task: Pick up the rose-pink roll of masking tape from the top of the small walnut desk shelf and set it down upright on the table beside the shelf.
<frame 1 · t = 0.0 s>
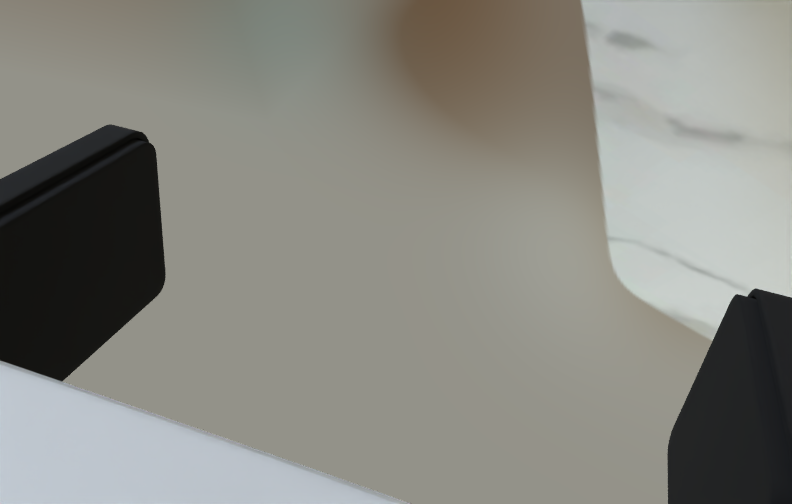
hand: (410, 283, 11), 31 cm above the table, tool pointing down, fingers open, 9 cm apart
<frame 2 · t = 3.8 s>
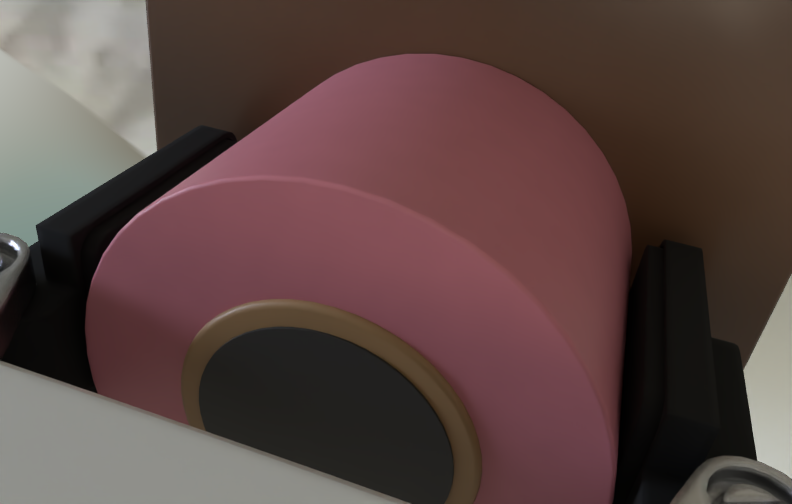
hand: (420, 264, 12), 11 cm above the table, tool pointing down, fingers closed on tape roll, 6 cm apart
tape roll: (432, 243, 12), point 10 cm above the table, touching desk shelf, gripper
desk shelf: (524, 82, 20), on the table
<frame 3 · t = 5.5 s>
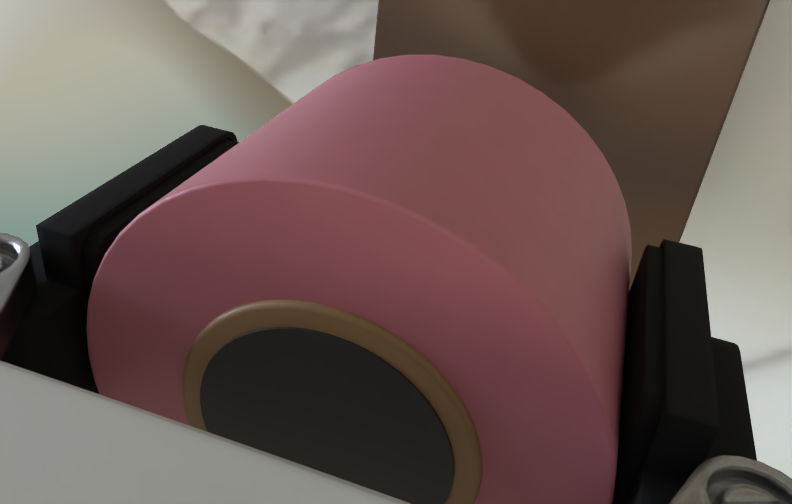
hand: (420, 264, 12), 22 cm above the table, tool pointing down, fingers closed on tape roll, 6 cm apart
tape roll: (432, 244, 12), point 21 cm above the table, touching gripper
desk shelf: (570, 38, 30), on the table
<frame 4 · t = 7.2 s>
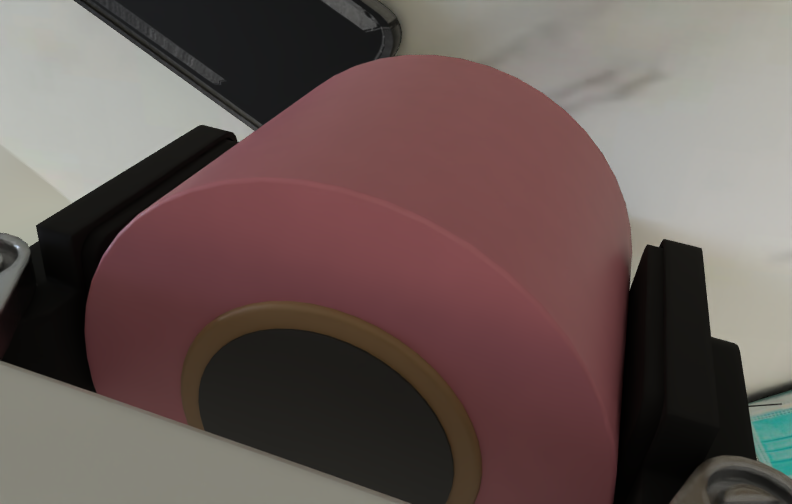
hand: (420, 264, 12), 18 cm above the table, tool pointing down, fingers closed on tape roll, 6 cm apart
tape roll: (432, 244, 12), point 18 cm above the table, touching gripper
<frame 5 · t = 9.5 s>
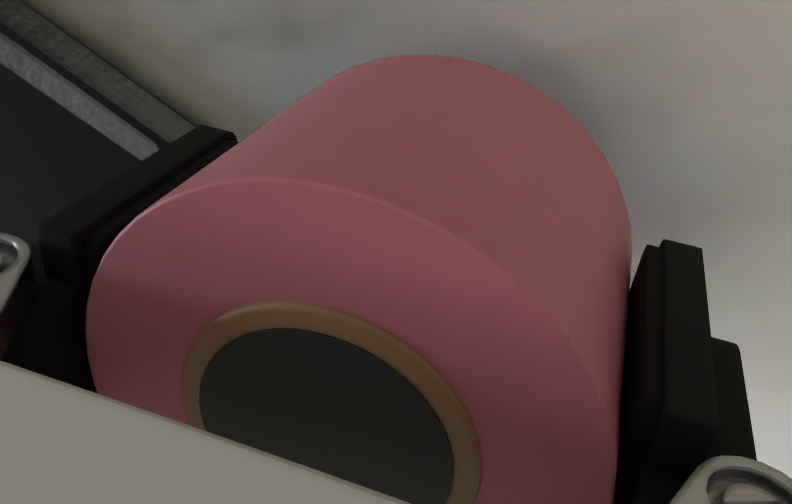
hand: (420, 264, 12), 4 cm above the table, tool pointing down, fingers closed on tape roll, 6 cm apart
tape roll: (432, 244, 12), point 3 cm above the table, touching gripper
when the fingers open (1 cm above the table, at t = 11.0 s): tape roll stays where it is, on the table.
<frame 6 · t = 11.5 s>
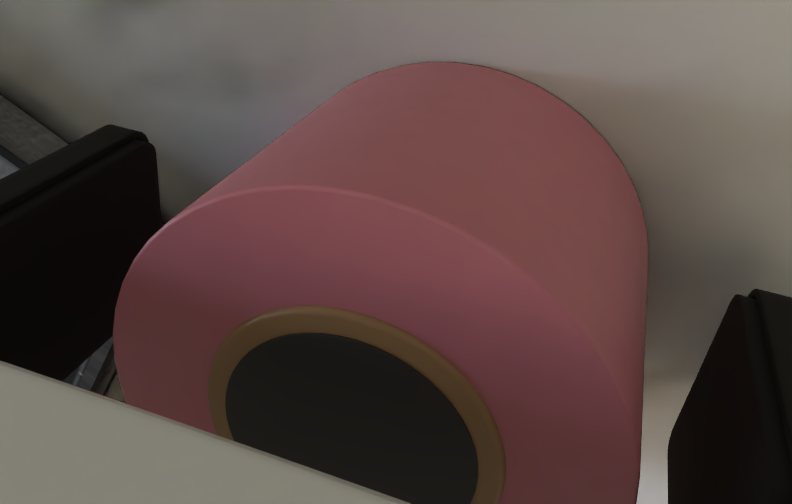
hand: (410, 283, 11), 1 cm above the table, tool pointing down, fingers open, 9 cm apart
tape roll: (449, 249, 12), on the table
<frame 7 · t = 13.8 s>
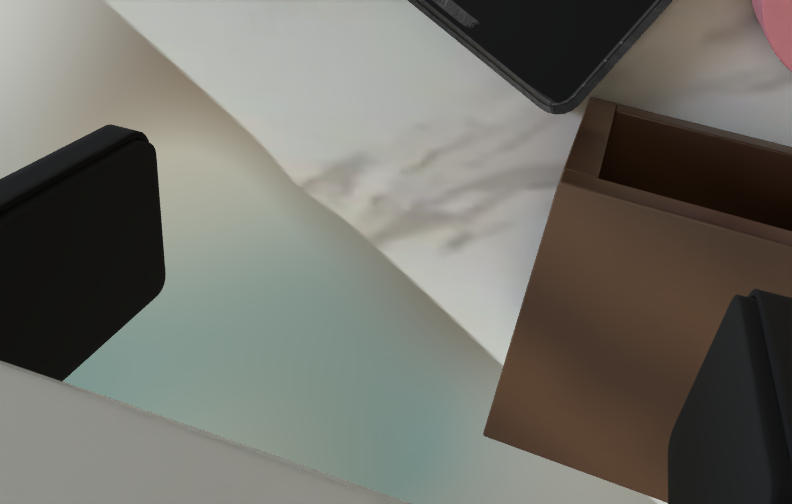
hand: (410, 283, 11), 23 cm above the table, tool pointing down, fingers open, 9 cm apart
desk shelf: (668, 245, 33), on the table
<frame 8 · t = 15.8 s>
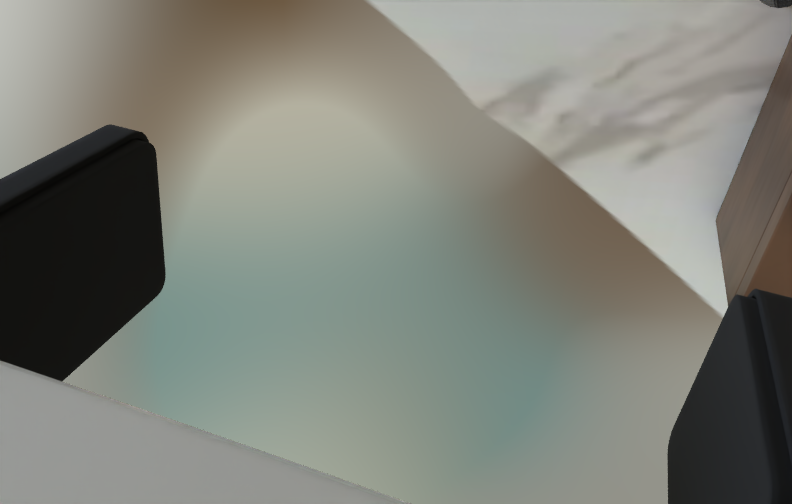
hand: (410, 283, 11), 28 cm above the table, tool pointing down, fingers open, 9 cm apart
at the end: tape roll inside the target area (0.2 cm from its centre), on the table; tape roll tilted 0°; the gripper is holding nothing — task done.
